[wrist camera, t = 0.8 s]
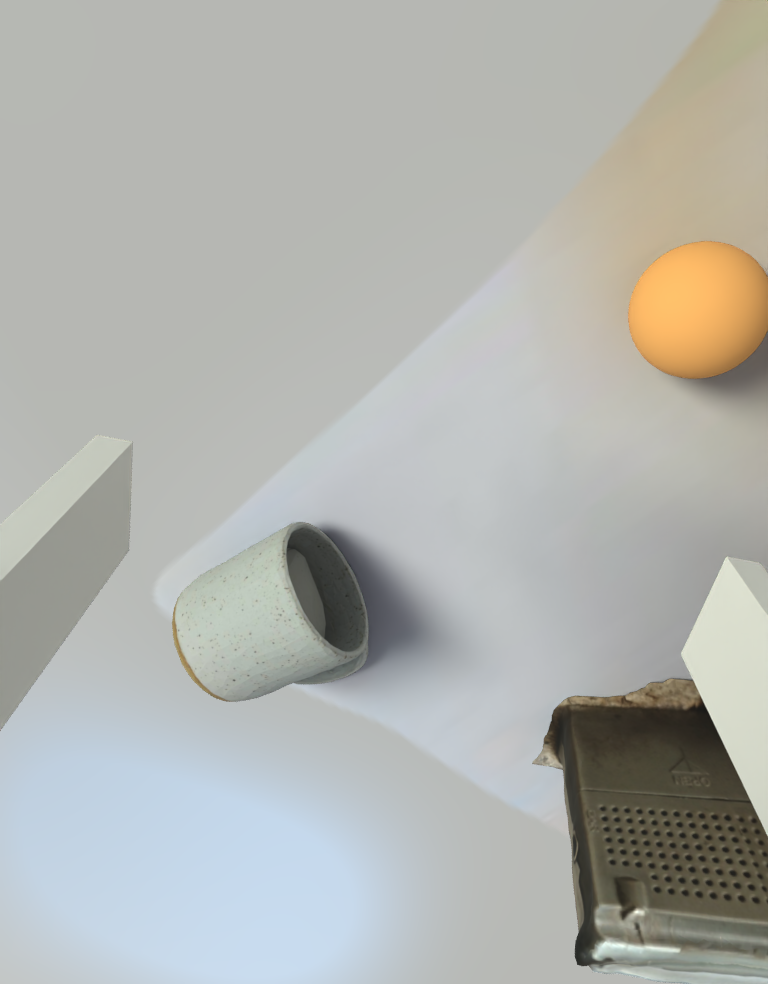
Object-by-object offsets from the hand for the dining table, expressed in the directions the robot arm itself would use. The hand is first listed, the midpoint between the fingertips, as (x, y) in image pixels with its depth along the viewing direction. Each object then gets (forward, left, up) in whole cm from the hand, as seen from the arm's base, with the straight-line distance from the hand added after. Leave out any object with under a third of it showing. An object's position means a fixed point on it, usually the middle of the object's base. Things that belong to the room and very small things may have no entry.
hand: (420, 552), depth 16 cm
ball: (-4, +11, -17) cm, 21 cm away
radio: (+21, +23, -20) cm, 37 cm away
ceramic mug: (+16, -4, -20) cm, 26 cm away
